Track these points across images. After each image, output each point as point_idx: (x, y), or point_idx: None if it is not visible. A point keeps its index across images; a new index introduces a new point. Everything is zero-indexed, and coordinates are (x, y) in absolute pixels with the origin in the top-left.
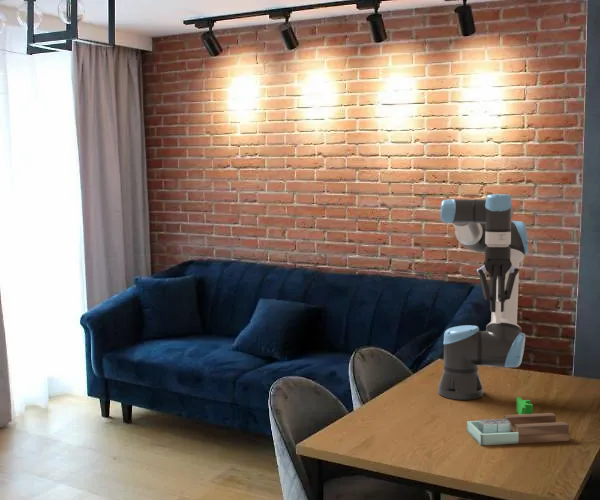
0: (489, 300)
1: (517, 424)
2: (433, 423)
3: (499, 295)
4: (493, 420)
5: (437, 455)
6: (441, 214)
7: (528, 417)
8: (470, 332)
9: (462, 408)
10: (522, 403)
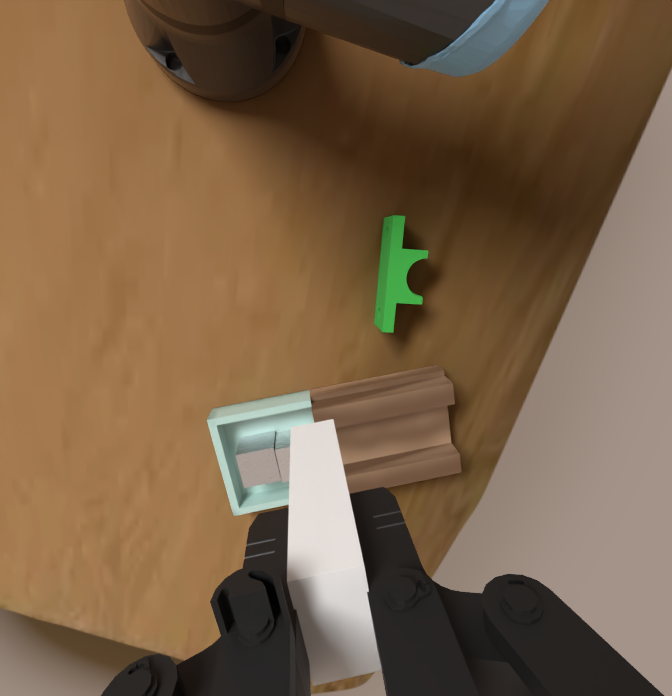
0: (218, 649)
1: None
2: (119, 352)
3: (407, 676)
4: (274, 459)
5: (133, 562)
6: None
7: (377, 418)
8: None
9: (215, 201)
10: (394, 289)
